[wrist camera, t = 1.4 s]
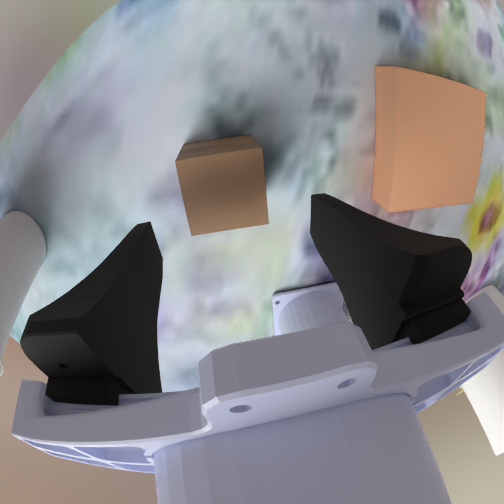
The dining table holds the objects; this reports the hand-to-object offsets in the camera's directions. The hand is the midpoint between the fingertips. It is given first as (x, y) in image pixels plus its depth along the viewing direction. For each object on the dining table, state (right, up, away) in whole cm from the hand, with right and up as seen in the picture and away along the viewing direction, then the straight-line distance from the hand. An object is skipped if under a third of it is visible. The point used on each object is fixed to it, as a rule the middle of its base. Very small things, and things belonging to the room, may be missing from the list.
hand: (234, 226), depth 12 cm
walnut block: (-2, +5, +8) cm, 10 cm away
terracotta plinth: (+17, +10, +8) cm, 21 cm away
